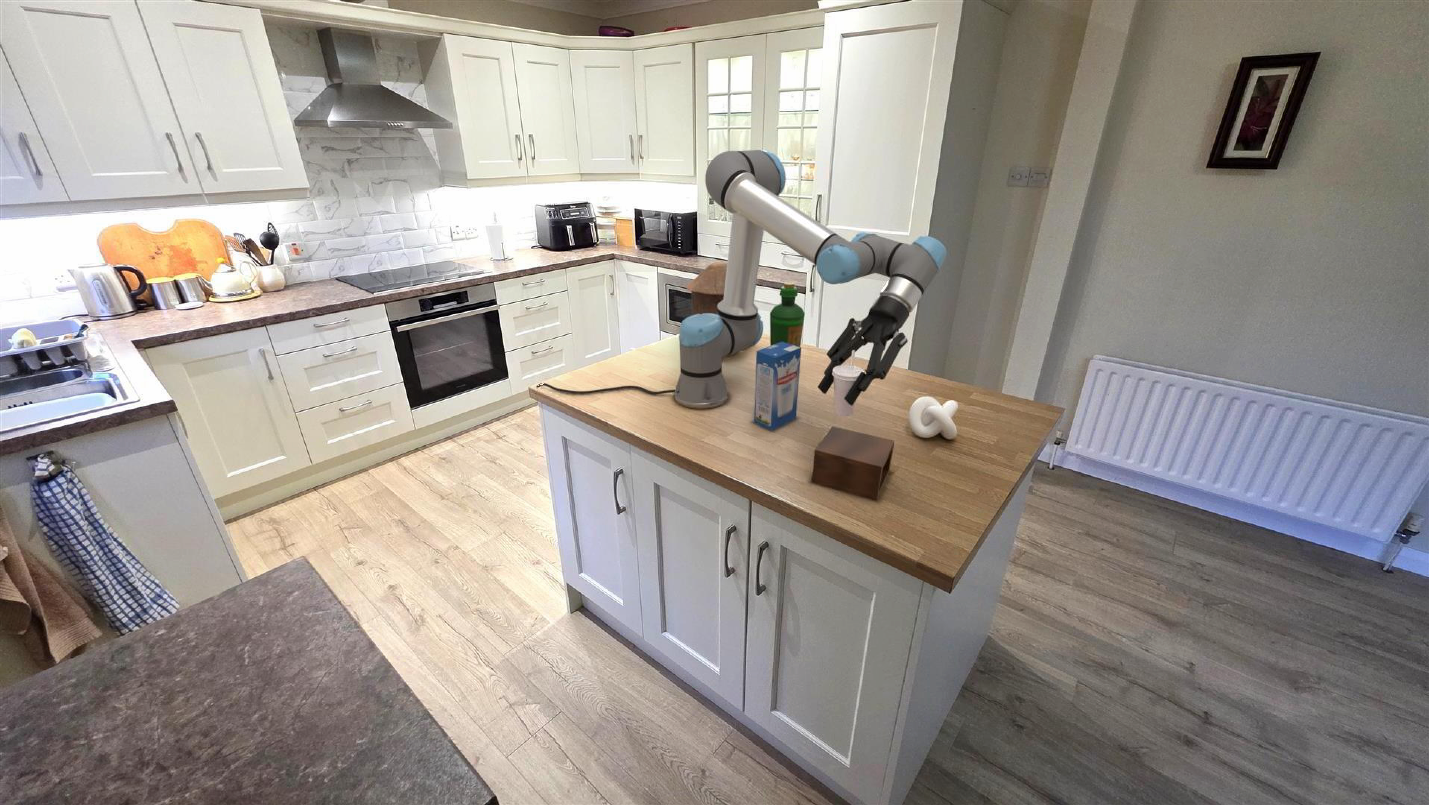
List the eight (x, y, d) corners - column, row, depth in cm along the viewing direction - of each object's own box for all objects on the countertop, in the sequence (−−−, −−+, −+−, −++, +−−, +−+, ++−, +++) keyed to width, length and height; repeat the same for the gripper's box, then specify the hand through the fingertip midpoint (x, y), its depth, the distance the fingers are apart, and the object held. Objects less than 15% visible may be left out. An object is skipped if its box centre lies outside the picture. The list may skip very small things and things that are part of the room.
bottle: (802, 376, 171) (809, 287, 159) (768, 376, 172) (772, 287, 159) (798, 363, 181) (804, 279, 169) (766, 363, 181) (770, 279, 169)
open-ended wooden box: (811, 482, 119) (814, 449, 115) (828, 456, 128) (831, 425, 125) (876, 500, 113) (881, 466, 109) (889, 472, 122) (894, 440, 119)
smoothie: (859, 420, 113) (867, 357, 107) (828, 418, 114) (834, 354, 108) (858, 407, 118) (866, 346, 112) (828, 404, 120) (834, 344, 113)
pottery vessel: (725, 369, 176) (726, 276, 163) (670, 350, 192) (667, 264, 179) (773, 348, 194) (777, 263, 181) (719, 333, 209) (719, 253, 196)
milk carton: (778, 410, 150) (782, 341, 141) (796, 418, 146) (801, 347, 137) (753, 422, 143) (756, 350, 135) (771, 431, 139) (775, 357, 131)
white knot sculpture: (921, 417, 146) (927, 387, 142) (966, 433, 139) (974, 401, 135) (901, 432, 139) (906, 400, 135) (948, 449, 131) (955, 416, 127)
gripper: (941, 325, 110) (880, 421, 108) (863, 305, 124) (807, 389, 122) (930, 304, 104) (866, 404, 103) (850, 285, 118) (792, 372, 116)
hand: (834, 396), depth 112 cm, fingers closed on smoothie, 6 cm apart
